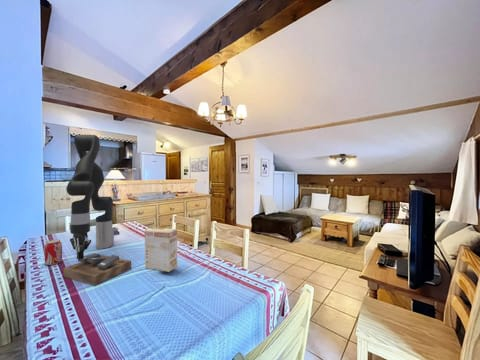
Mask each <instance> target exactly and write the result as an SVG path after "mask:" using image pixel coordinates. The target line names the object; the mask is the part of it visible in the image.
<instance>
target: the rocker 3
mask: <svg viewBox="0 0 480 360" xmlns="http://www.w3.org/2000/svg"><path fill="white" fill-rule="evenodd" d="M119 259H121V258H120V256H119V255H115V254H112V255H110V257H109V258H107V259H105V260H104V261H102V262H101V263H99V264H98V265H97V267H98V268H99V269H103V270H104V269H106V268H107V267H109V266H110V265H112V264H113V263H115V262H116V261H117V260H119Z"/></svg>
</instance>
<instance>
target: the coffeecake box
mask: <svg viewBox="0 0 480 360" xmlns="http://www.w3.org/2000/svg"><path fill="white" fill-rule="evenodd" d="M144 267H145V269H150V270H157V271H162V272H168V273H170V272H171V271H172V270H174V269H176V268H178V228H167V227H166V228H165V227H156V226H154V227H150V228H148V229H144Z"/></svg>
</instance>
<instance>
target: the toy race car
mask: <svg viewBox="0 0 480 360" xmlns="http://www.w3.org/2000/svg"><path fill="white" fill-rule="evenodd" d="M112 231H114V236H117V235H120V234H121V233H120V231H119V228H118V227H116V226H114V227H113V226H112Z"/></svg>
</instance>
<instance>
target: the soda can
mask: <svg viewBox="0 0 480 360" xmlns="http://www.w3.org/2000/svg"><path fill="white" fill-rule="evenodd" d="M43 248H44V250H43V253H44V254H43V256H44V265H47V266H54V265H57V264H59V263H60V262H62V261H63V244H62V242H61V240H60V239H52V240H48V241H45V245H44V247H43Z"/></svg>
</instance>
